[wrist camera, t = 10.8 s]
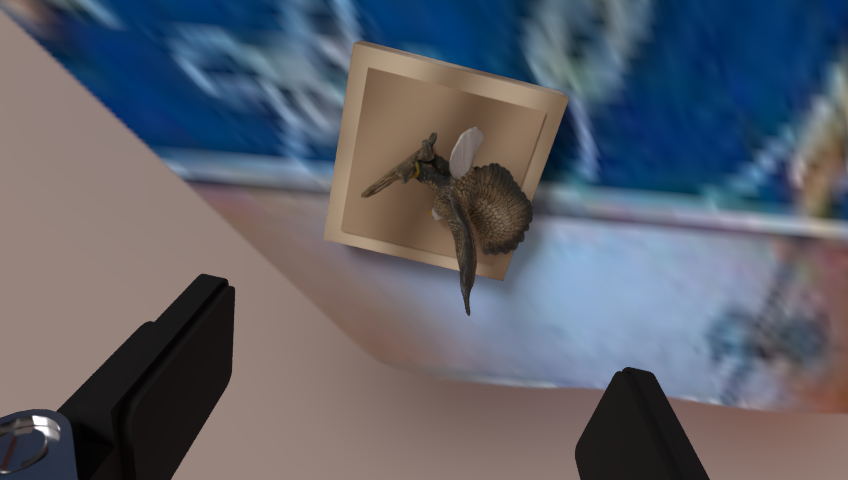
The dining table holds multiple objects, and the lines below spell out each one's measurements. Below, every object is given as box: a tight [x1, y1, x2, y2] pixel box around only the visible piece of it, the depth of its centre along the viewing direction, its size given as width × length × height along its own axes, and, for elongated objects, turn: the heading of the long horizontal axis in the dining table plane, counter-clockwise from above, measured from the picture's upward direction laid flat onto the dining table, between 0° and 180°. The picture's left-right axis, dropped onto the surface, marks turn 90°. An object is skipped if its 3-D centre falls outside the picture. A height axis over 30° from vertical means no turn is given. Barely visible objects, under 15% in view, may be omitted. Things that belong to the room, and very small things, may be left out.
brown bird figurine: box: [361, 127, 533, 316], centre depth 26 cm, size 8×7×9 cm
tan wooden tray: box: [324, 41, 569, 281], centre depth 29 cm, size 12×12×3 cm
